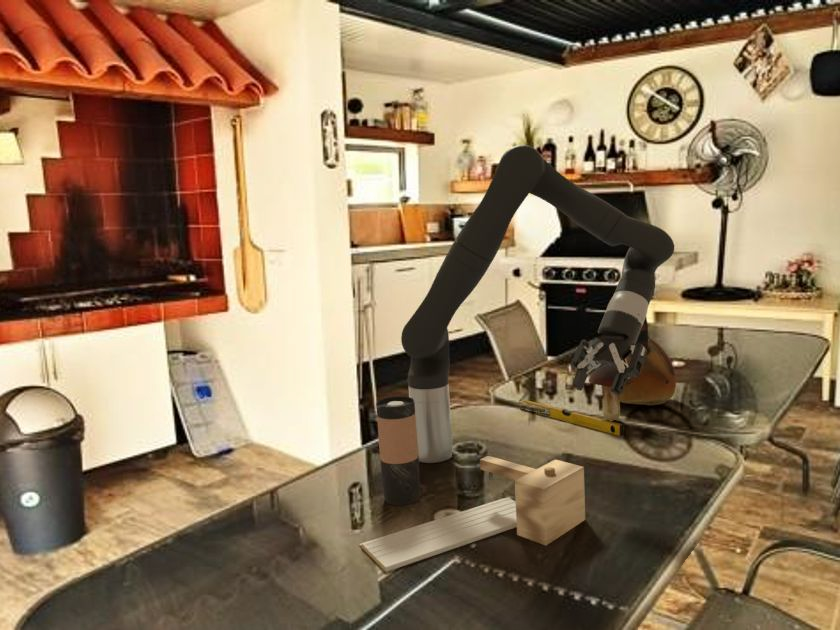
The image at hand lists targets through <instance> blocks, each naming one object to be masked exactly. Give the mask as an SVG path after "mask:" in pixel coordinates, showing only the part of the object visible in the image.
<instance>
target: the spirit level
mask: <svg viewBox="0 0 840 630" xmlns="http://www.w3.org/2000/svg"><path fill="white" fill-rule="evenodd" d="M519 401H523V402H525V403H527V404H531V405H535V406H537V407H540V408H542V409H545V412H541V413H538V412H537V413H538V415H542V416H546V417H548V418H553V419H556V420H560V421H563V422H567V423H571V424H574V425H578V426H582V427H586V428H590V429H593V430H597V431H600V432H604V433H608V434H612V435H615V436H619V437H621V436H625V435H624V433H625V432H624V425H625V424H624V423H619V422H615V421H608V420H606V419H602V418H599V417H595V416H590V415H586V414H582V413H579V412H576V411H575V412H574V411H573V412H568V411H566V409H562V408H558V407H554V406H551V405H547V404H544V403H539V402H535V401H531V400H529V399H524V398H520V399H519ZM519 401H518V402H519ZM537 413H536V414H537Z"/></svg>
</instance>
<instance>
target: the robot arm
mask: <svg viewBox="0 0 840 630" xmlns="http://www.w3.org/2000/svg"><path fill="white" fill-rule="evenodd" d="M494 172H495V173H494V175H493V177H492V179H491V181H490V183H489V186H488V188H487V189H486V191H485V194H484V195H483V197H482V200H481V201H480V203H478V205H477V207H476V208H475V210H474V211H473V212H472V214H470V216H469V217H468V219H467V221H466V222H465V224H464V225H463V226H462V228H461V229H460V231H459V233H458V235H457V236H456V238H455V239H454V241H453V243H452V245H451V247H450V248H449V250H448V252H447V253H446V255H445V257H444V259H443V261H442V264H441V265H440V267H439V269H438V272H437V273H436V275H435V278H434V280H433V282H432V283H431V286H430V288H429V290H428V292H427V294H426V296H425V297H424V298H423V300H422V302H420V305H419V306H418V307H417V309H416V310H415V311H414V313H413V315H412V316H411V317H410V318H409V320H408V321H407V322H406V324H404V326H403V329H402V332H401V337H400V338H401V339H400V340H401V341H400V342H401V345H402V348H403V350H404V352H405V353H406V354H407V355H408V356H409V357H410V363H409V365H410V366H409V370H408V373H407V385H408V397H410V398H413V399H414V403H415V416H416V429H417V442H418V454H419V463H424V464H425V463H426V464H435V463H441V462H445V461H447V460H448V461H449V460H450V459H451V458H452V457H453V456H452V450H453V436H452V434H453V432H452V418H451V417H452V415H451V402H450V386H449V385H450V384H449V383H450V382H449V374H450V373H449V372H450V365H451V363H450V339H449V336H450V335H449V330H448V327H449V325H450V322H451V321H452V319H453V317H454V315H455V313H456V312H457V311H458V310H459V308H460V306H461V305H462V304H463V303H464V301H465V300H467V298H468V297H469V296H470V295H471V293H472V292H473V291H474V290H475V288H476V287H477V286H478V284H480V282H481V280H482V279H483V277H484V276H485V275H486V272H487V271H488V269H490V268H489V267H490V266H491V265H492V263H493V260H494V259H495V258H496V255H497V254H498V251H499V250H500V247H501V245H502V243H503V241H504V238H505V236H506V234H507V231H508V229H509V226H510V224H511V221H512V219H513V218H514V216H515V214H516V213H517V211H518V210H519V208H520V207H521V205H522V204H523V202H524V201H525V199H526V198H527V197H528V195H529V194H530V195H532V196H535V197H537V198H539V199H541V200H543V201H544V202H546V203H548V204H549V205H552V206H553V207H554V208H556V209H557V210H559V211H560V212H561V213H562V214H564V215H565V216H566V217H568V218H569V219H570V220H571V221H573V222H574V223H575V224H576V225H578V226H579V227H581V228H582V229H583V230H585V231H586V232H587V233H589V234H591V235H592V236H593V237H595V238H597V240H600V241H602V242H603V243H605V244H606V245H608V246H610V247H617V246H619V245H624V246H627V247H629V248H628V250H627V252H626V255H625V256H624V259H623V260H624V261H623V265H622V270H621V277H620V279H619V281H618V283H617V286H616V288H615V291H614V293H613V296H612V297H611V298H610V300H609V302H608V304H607V306H606V310H605V313H604V314H603V317H602V319H601V322H600V325H599V327H598V330H597V337H596V339H595V340H594V341H593V342H589V341H587V340H586V339H582V340H580V342H579V345H578V347H577V349H576V351H575V353H574V355H573V358H572V359H571V362H570V364H571V366H572V367H574V369H576V373H575V375H574V378H573V380H572V386H573V387H574V389H575V390H577V391H580V392H581V391H583V389H584V386H585V384H586V381H587V378H588V374H589V373H590V372H591V371H593V370H594V369H595V370H596V369H598V368H600V367H601V366H603V365H604V366H606V365H610V366H615V367H616V365H617V368H618V371H619V373H617V374H616V376H615V379H614V382H613V384H612V387H611V392H612V393H613V394H614V395H615V396H619V395H620V393H622V392H623V390H624V387H625V385H626V382H627V380H628V379H629V378H630V377H632V376H635V377H639V376H640V373H641V370H642V367H643V364H644V360H645V357H646V354H647V350H646V349H645V348H644V347H643V345H642V344H641V343H637V344H636V341H637V339H638V336H639V333H640V331H641V328H642V325H643V323H644V320H645V317H646V318H647V313H648V308H649V305H650V303H651V301H652V299H653V298H652V297H653V295H654V292H655V288H656V280H655V278H654V275H655V273H656V271H657V269H658V268H659V267H660V266H662V264H664V263H665V262H667V261H668V260H670V259H671V257H672V256H673V255H674V252H675V243H674V241H673V239H672V237H671V236H670V234H668V233H667V232H666V231H665V230H664V229H662V228H660V227H659V226H656V225H653V224H651V223H648V222H645V221H643V220H640V219H637V218H633V217H631V216H628V215H627V214H625V213H624V212H622V211H621V210H619V209H618V208H617V207H615V206H613V205H612V204H610V203H608V202H607V201H605V200H604V199H603V198H600V197H599V196H597V195H595V194H593V193H592V192H590V191H588V190H586V189H584V188H583V187H581V186H579V185H578V184H576V183H574V182H573V181H571V180H569V179H568V178H567V177H566V176H564V175H562V174H561V173H560V172H559V171H557V169H555V168H554V167H553V166H552V165H551V164H550V163H549V162H547V161H546V159H545V158H544V157H543V155H542V154H541V153H540V151H538V149H536V148H534V147H532V146H531V145H527V144H517V145H514V146H512V147H509V148H508V149H507V150H506V151H505V152H503V154H502V156H501V158H500V160H499V162H498V164H497V167H496V169H495V171H494ZM651 298H652V299H651ZM635 344H636V345H635ZM631 354H632V357H631V361H630V364H629V367H628V364H627V361H626V358H627V357H628V356H629V355H631ZM594 358H595V360H593V359H594Z"/></svg>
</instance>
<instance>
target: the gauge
mask: <svg viewBox="0 0 840 630" xmlns="http://www.w3.org/2000/svg"><path fill="white" fill-rule="evenodd" d="M479 464H480V467H479V468H480V470H481V471H484V472H488V478H489V481H493V480H494V474H495V475H497V476H500V477H504V478H508V479H510V480H514V494H515V496H514V498H515V501H516V520H517V527H516V535H517V536H519V537H522V538H524V539H527V540H530V541H532V542H535V543H538V544H541V545H543V546H548V545H549V544H550V543H551V544H552V543H553V542H554V541H555V540H557V539H558V538H559V537H561V536H563V535H565V534H566V533H567V532H569V531H571V530H572V529H574V528H575V527H576V526H578V525H580V524H582V522H584V521H585V520H586V504H585V503H586V502H585V500H586V497H585V466H582V465H577V464H574V463H569V462H566V461H563V460H560V459H559V460H558V459H554V460H551V461H549V462H547V463H546V464H543V465H542V466H540V467H538V468H533V467H529V466H527V465H523V464H519V463H515V462H512V461H508V460H506V459H501V458H497V457H494V456H490V455H487V456H484V457H482V458H480V459H479Z"/></svg>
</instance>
